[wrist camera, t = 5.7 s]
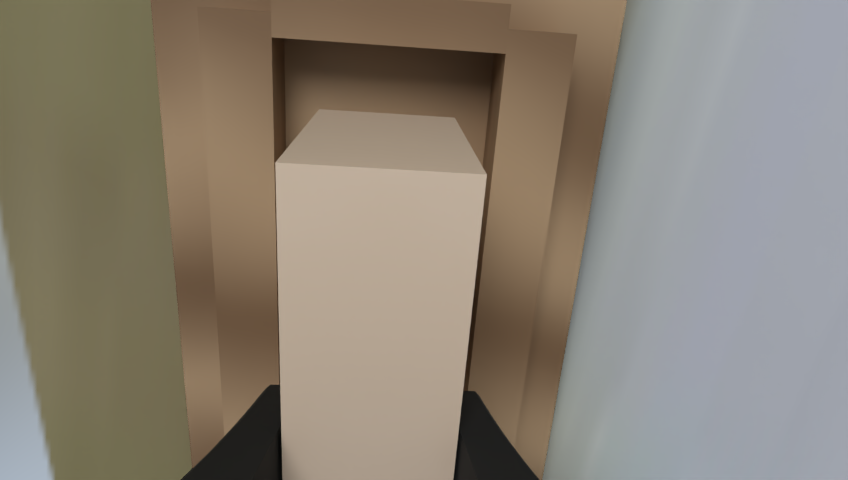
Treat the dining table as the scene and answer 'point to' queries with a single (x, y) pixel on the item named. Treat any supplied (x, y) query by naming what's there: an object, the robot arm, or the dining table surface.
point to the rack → (395, 94)
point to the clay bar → (375, 294)
